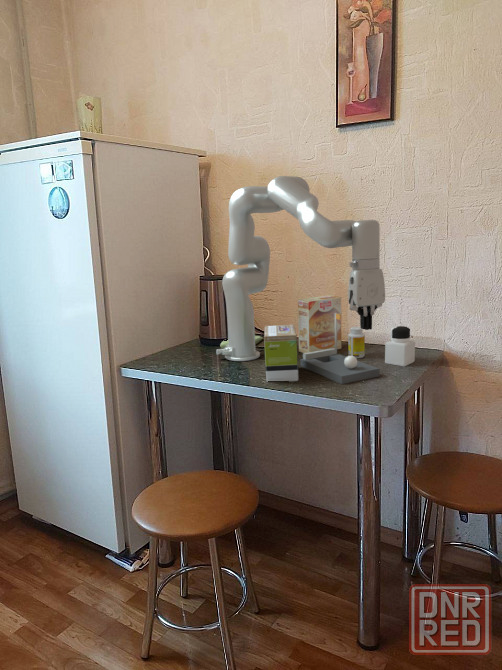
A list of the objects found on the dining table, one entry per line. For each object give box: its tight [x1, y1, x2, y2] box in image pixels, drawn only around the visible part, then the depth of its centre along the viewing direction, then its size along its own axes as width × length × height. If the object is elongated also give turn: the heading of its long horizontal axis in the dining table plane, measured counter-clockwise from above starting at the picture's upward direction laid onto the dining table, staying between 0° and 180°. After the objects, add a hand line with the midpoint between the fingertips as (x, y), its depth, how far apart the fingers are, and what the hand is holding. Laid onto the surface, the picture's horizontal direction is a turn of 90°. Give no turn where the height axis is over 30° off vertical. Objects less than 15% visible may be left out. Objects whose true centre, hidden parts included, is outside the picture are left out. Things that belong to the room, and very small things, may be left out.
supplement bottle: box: [347, 326, 366, 359], centre depth 182 cm, size 6×6×10 cm
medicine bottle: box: [384, 325, 416, 367], centre depth 172 cm, size 7×7×12 cm
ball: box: [344, 355, 358, 369], centre depth 160 cm, size 4×4×4 cm
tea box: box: [263, 324, 299, 383], centre depth 164 cm, size 15×10×15 cm
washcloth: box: [219, 335, 264, 349], centre depth 208 cm, size 13×18×3 cm
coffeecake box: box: [297, 294, 342, 354], centre depth 192 cm, size 15×7×20 cm, turn 120°
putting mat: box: [300, 313, 381, 385], centre depth 165 cm, size 14×23×16 cm, turn 26°
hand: (366, 328), depth 152 cm, fingers closed
